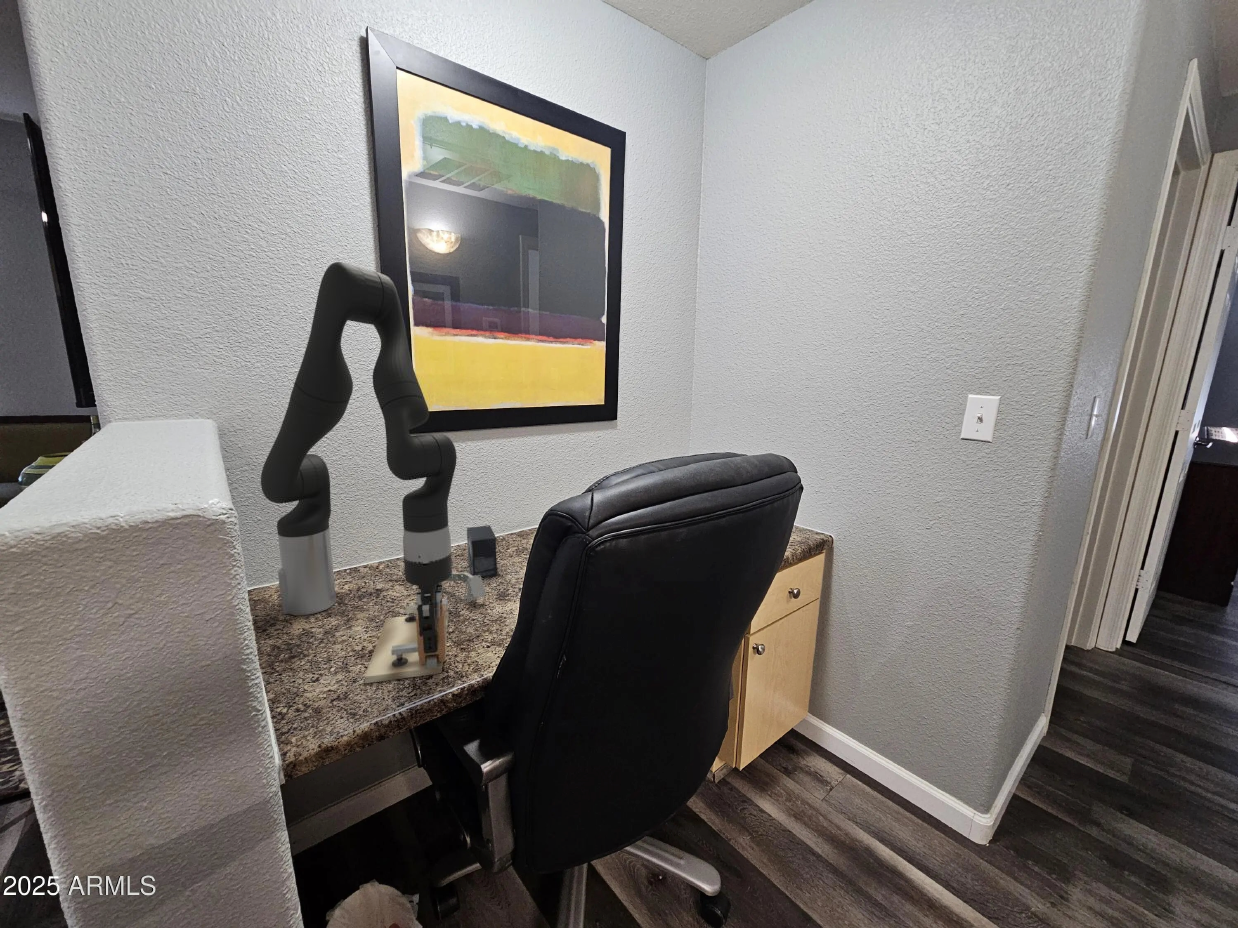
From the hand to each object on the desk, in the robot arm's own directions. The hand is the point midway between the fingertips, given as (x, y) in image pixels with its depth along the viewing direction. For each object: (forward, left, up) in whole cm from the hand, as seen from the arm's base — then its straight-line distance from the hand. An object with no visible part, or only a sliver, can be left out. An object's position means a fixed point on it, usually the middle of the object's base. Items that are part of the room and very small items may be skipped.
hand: (432, 641), depth 86 cm
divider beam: (-2, +7, -3) cm, 8 cm away
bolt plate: (-5, +7, -4) cm, 9 cm away
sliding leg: (-2, 0, -3) cm, 4 cm away
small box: (+8, +41, -5) cm, 42 cm away
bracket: (+1, +30, -5) cm, 30 cm away
